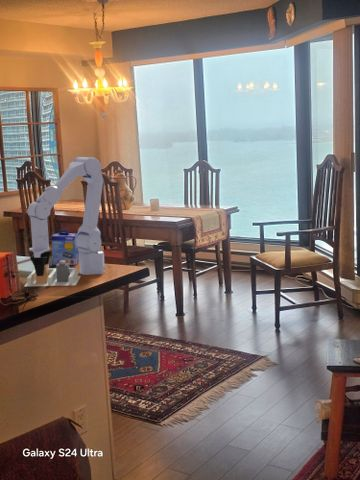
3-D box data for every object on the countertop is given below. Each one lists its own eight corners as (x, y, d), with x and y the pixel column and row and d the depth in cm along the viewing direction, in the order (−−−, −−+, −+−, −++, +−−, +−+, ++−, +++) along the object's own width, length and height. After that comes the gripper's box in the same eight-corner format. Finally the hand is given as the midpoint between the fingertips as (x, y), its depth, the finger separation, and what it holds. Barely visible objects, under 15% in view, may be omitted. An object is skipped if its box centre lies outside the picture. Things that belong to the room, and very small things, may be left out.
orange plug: (49, 280, 229) (48, 260, 228) (47, 283, 226) (46, 263, 224) (38, 280, 229) (36, 261, 228) (35, 283, 225) (34, 263, 224)
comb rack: (81, 277, 236) (80, 267, 235) (75, 287, 222) (75, 276, 221) (32, 278, 235) (31, 268, 235) (24, 288, 222) (23, 278, 221)
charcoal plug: (69, 279, 231) (68, 259, 229) (68, 281, 227) (67, 262, 225) (58, 279, 230) (57, 260, 229) (56, 282, 227) (55, 262, 225)
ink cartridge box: (52, 265, 258) (50, 230, 255) (55, 262, 263) (53, 227, 260) (76, 265, 257) (74, 229, 254) (79, 262, 263) (77, 227, 260)
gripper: (32, 232, 231) (35, 268, 234) (24, 239, 217) (26, 278, 220) (52, 232, 232) (54, 268, 234) (44, 239, 217) (47, 277, 220)
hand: (42, 273), depth 227 cm, fingers open, 7 cm apart
